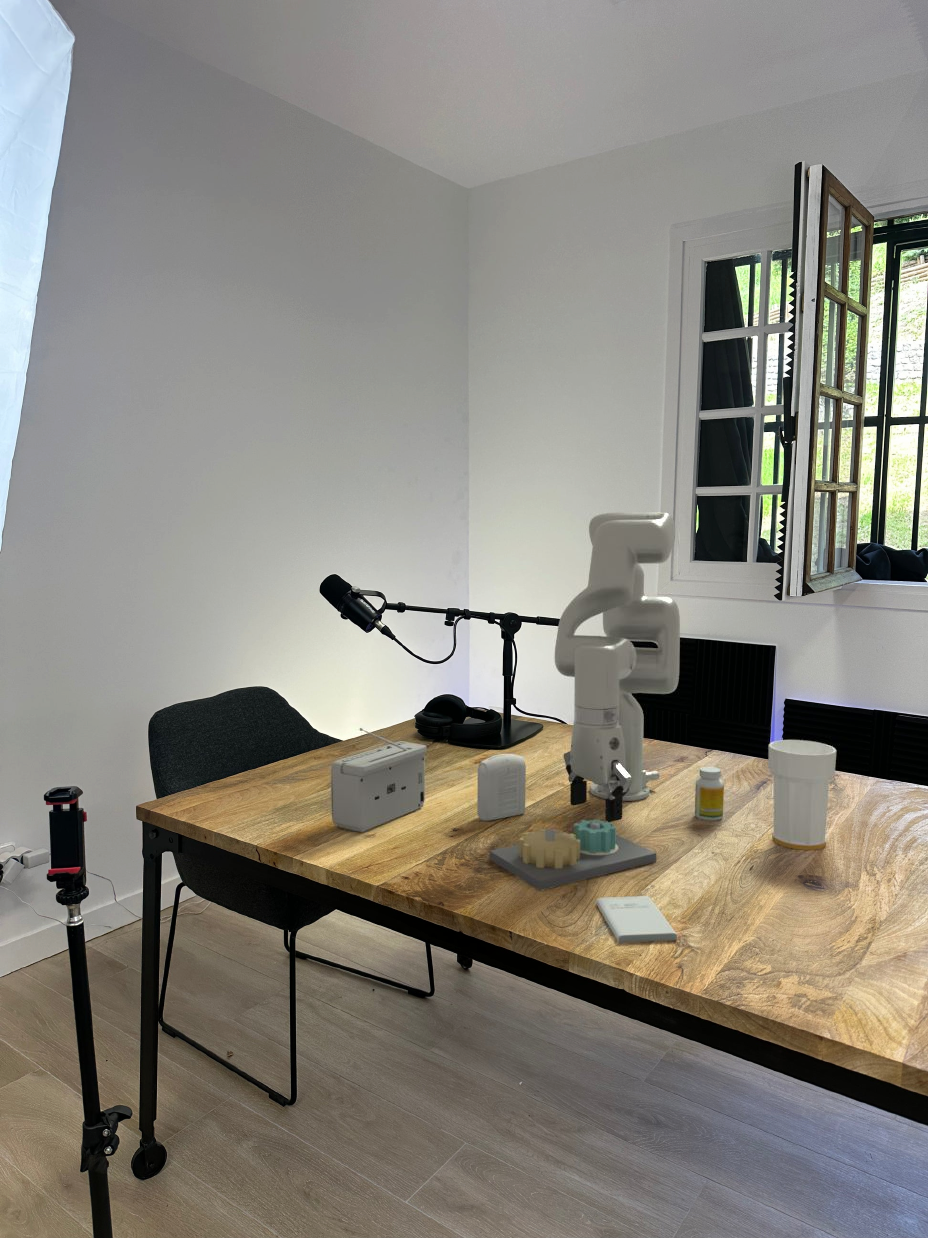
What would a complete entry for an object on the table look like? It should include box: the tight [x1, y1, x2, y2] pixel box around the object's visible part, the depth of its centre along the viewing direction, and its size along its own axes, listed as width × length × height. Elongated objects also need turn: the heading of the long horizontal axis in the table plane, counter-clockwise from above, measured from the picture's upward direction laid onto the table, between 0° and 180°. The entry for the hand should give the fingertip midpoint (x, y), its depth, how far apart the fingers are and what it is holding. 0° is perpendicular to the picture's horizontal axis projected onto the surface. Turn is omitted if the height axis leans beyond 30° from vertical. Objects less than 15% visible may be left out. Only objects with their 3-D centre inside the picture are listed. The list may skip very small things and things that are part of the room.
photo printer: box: [476, 753, 527, 822], centre depth 168 cm, size 10×4×12 cm, turn 123°
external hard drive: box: [596, 895, 678, 944], centre depth 122 cm, size 2×8×12 cm
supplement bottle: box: [694, 766, 725, 822], centre depth 167 cm, size 5×5×10 cm
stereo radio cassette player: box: [330, 727, 428, 834], centre depth 167 cm, size 21×8×20 cm, turn 145°
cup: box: [768, 739, 837, 851], centre depth 153 cm, size 11×11×17 cm
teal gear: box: [573, 819, 617, 854], centre depth 147 cm, size 7×7×4 cm
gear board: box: [489, 823, 657, 891], centre depth 145 cm, size 24×15×6 cm, turn 120°
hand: (595, 812), depth 147 cm, fingers open, 9 cm apart
